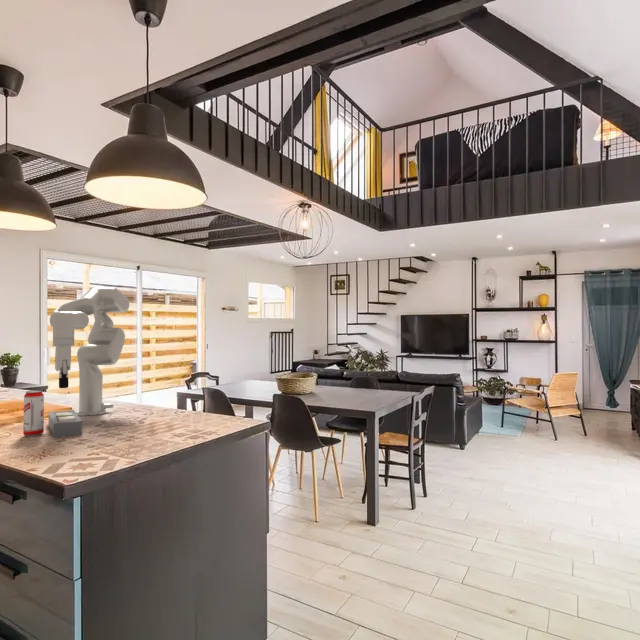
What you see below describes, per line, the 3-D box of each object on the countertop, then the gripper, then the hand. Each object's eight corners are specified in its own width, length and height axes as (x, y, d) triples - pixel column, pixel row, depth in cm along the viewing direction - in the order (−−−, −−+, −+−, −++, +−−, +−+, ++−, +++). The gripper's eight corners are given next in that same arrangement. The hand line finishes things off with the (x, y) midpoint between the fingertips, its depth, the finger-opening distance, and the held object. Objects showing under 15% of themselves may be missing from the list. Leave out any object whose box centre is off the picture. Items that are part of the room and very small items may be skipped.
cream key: (73, 422, 171) (73, 415, 171) (74, 425, 167) (75, 418, 167) (58, 424, 168) (58, 417, 168) (59, 426, 164) (59, 419, 164)
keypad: (73, 421, 187) (73, 409, 187) (81, 434, 165) (82, 420, 165) (48, 424, 182) (48, 412, 182) (53, 437, 160) (53, 423, 160)
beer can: (41, 432, 169) (41, 389, 169) (45, 435, 164) (46, 391, 165) (21, 435, 164) (22, 391, 165) (25, 438, 160) (26, 392, 160)
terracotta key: (69, 418, 184) (69, 411, 184) (70, 420, 180) (70, 413, 180) (54, 419, 181) (54, 413, 181) (55, 421, 177) (55, 415, 177)
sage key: (71, 419, 177) (71, 412, 177) (72, 421, 173) (72, 414, 173) (56, 420, 174) (56, 413, 174) (57, 422, 170) (57, 416, 170)
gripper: (51, 341, 185) (51, 386, 185) (54, 343, 173) (54, 391, 173) (72, 341, 189) (72, 384, 189) (76, 343, 177) (76, 389, 177)
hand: (63, 387), depth 181 cm, fingers closed
